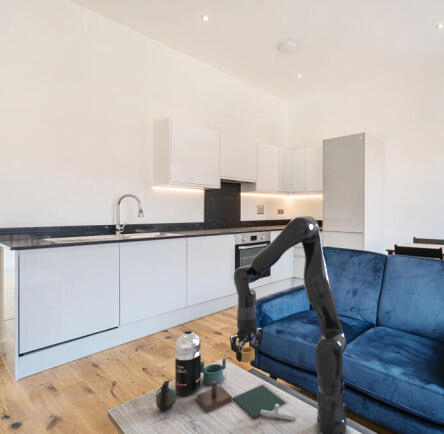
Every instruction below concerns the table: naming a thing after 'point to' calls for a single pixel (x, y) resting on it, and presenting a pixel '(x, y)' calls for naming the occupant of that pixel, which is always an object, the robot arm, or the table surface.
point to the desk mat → (258, 401)
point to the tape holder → (214, 397)
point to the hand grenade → (165, 397)
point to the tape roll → (248, 354)
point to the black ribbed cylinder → (187, 364)
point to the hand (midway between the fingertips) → (246, 358)
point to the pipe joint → (276, 413)
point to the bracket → (213, 372)
